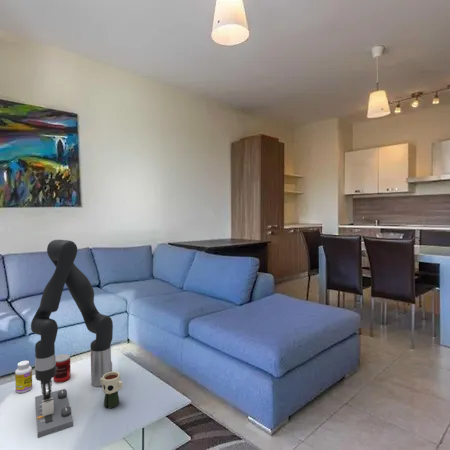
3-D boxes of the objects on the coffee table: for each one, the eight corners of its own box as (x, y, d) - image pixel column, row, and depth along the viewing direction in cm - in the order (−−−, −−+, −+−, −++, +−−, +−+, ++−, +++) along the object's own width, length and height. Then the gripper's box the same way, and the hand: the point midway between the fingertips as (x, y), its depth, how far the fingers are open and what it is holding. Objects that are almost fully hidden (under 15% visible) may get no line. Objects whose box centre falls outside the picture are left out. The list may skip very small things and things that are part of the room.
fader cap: (53, 409, 133) (53, 396, 132) (54, 413, 130) (53, 400, 130) (41, 412, 131) (41, 400, 130) (42, 416, 128) (41, 404, 128)
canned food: (65, 372, 166) (64, 352, 165) (73, 377, 161) (73, 356, 160) (50, 379, 159) (49, 357, 159) (58, 384, 155) (57, 362, 154)
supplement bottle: (24, 394, 147) (23, 367, 146) (12, 392, 148) (11, 365, 147) (35, 386, 153) (34, 360, 153) (24, 384, 155) (22, 358, 154)
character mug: (95, 407, 138) (95, 377, 137) (106, 397, 145) (105, 369, 144) (117, 411, 135) (117, 382, 134) (127, 401, 142) (126, 373, 141)
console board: (65, 392, 148) (65, 383, 148) (73, 425, 126) (72, 415, 126) (35, 401, 142) (34, 391, 142) (37, 437, 120) (37, 426, 120)
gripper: (57, 370, 129) (58, 411, 131) (54, 356, 141) (55, 394, 142) (35, 375, 125) (37, 417, 127) (34, 360, 137) (36, 400, 138)
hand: (47, 405), depth 134 cm, fingers closed
